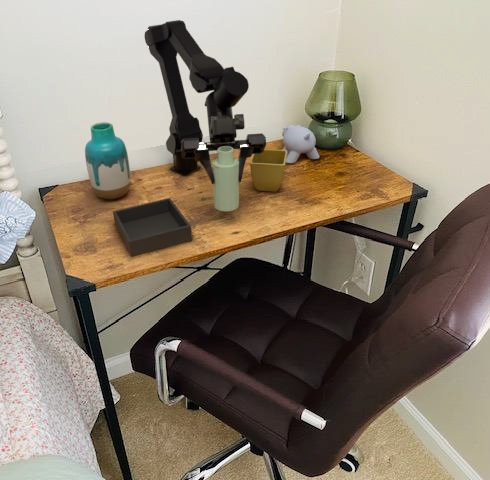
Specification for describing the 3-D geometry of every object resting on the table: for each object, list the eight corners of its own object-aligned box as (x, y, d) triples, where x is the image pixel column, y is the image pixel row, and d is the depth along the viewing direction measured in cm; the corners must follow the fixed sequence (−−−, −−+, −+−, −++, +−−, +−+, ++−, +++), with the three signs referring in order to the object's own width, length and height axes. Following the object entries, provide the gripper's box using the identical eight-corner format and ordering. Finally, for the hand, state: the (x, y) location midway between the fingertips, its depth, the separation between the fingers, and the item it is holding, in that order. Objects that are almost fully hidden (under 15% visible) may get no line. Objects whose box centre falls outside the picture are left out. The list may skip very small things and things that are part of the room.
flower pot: (283, 196, 125) (284, 164, 120) (249, 194, 127) (249, 162, 122) (285, 180, 132) (287, 149, 127) (253, 179, 134) (253, 148, 129)
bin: (115, 225, 117) (112, 211, 115) (171, 211, 121) (169, 197, 119) (131, 257, 106) (128, 241, 104) (192, 240, 110) (191, 225, 108)
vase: (141, 193, 129) (132, 124, 119) (109, 209, 123) (96, 138, 112) (116, 182, 136) (105, 115, 125) (84, 196, 129) (70, 127, 118)
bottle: (209, 206, 113) (206, 150, 105) (225, 196, 117) (224, 141, 109) (227, 214, 110) (226, 157, 102) (243, 204, 113) (244, 148, 105)
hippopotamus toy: (302, 142, 153) (304, 112, 148) (325, 161, 141) (328, 130, 136) (270, 147, 151) (271, 117, 146) (290, 167, 139) (292, 135, 134)
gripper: (178, 103, 103) (184, 174, 100) (266, 97, 104) (274, 167, 101) (179, 125, 114) (184, 189, 111) (258, 120, 115) (266, 183, 112)
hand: (226, 182), depth 108 cm, fingers closed on bottle, 6 cm apart
